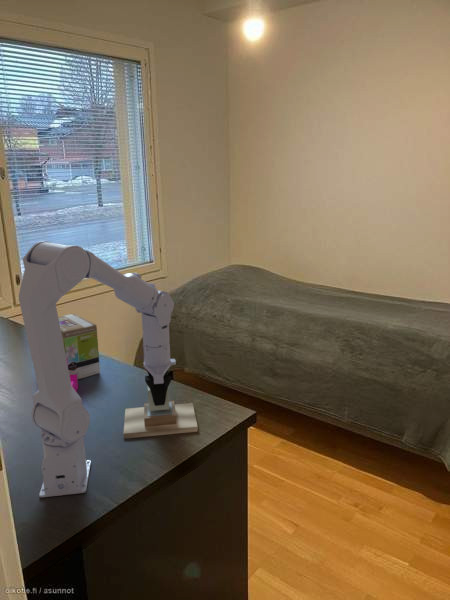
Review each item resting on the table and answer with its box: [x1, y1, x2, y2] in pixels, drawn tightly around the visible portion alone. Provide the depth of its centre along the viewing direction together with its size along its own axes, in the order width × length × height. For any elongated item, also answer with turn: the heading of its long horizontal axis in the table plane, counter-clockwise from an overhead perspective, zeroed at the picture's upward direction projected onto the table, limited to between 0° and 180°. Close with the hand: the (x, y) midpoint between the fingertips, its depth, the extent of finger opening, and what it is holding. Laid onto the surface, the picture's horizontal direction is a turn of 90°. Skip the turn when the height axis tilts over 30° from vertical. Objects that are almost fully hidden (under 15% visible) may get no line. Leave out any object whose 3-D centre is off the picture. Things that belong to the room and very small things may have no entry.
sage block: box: [147, 386, 170, 411], centre depth 106 cm, size 4×4×5 cm
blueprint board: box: [122, 400, 199, 439], centre depth 107 cm, size 11×16×3 cm
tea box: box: [58, 313, 101, 380], centre depth 134 cm, size 15×10×15 cm
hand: (159, 399), depth 106 cm, fingers closed on sage block, 4 cm apart
